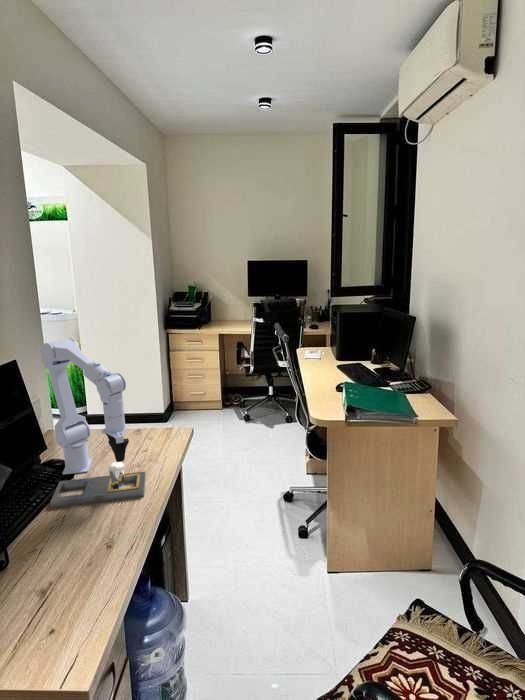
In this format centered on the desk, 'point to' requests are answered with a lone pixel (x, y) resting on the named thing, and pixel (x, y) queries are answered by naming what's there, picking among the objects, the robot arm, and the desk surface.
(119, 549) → the desk surface
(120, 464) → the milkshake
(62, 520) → the desk surface
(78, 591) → the desk surface
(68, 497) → the grey board with holes
